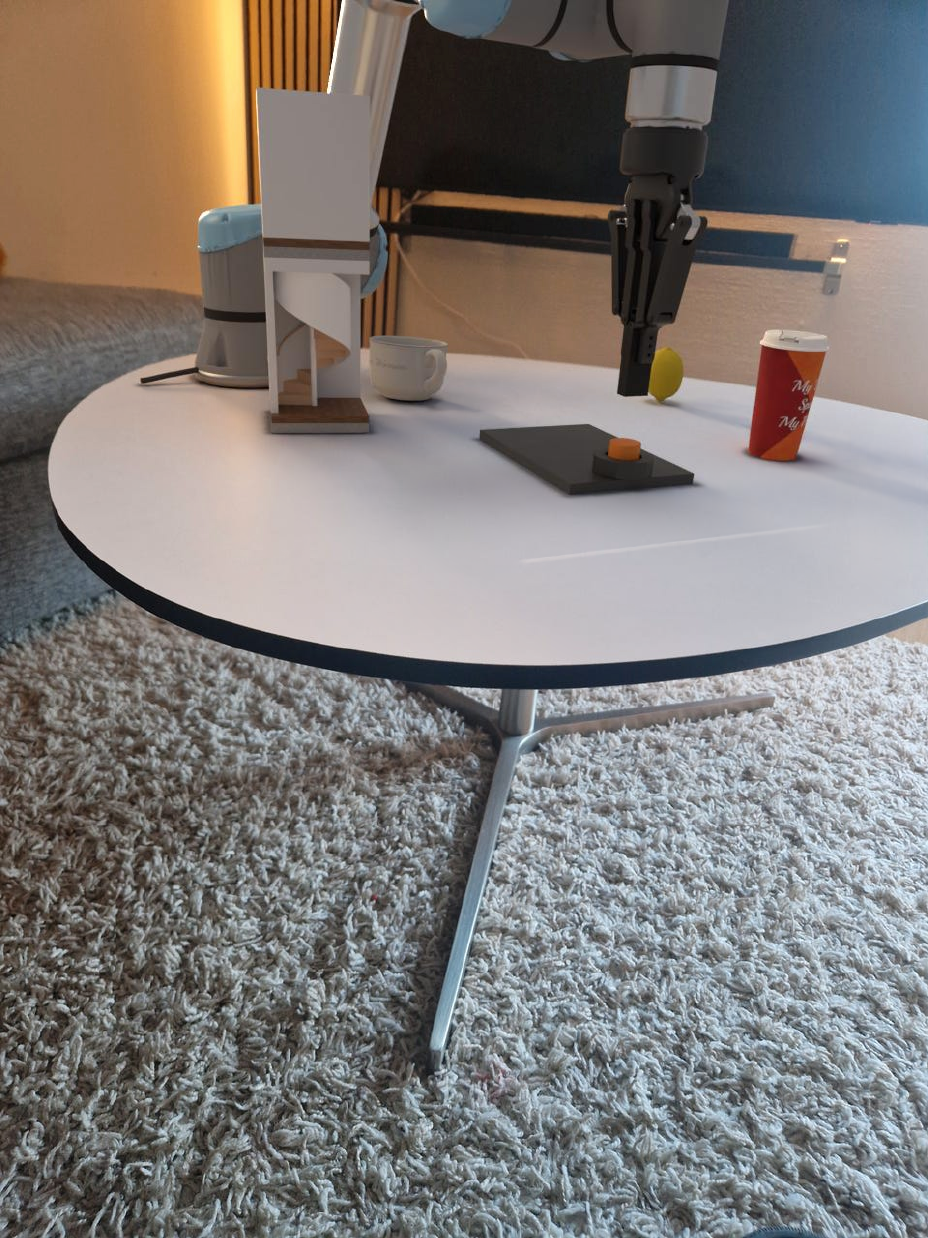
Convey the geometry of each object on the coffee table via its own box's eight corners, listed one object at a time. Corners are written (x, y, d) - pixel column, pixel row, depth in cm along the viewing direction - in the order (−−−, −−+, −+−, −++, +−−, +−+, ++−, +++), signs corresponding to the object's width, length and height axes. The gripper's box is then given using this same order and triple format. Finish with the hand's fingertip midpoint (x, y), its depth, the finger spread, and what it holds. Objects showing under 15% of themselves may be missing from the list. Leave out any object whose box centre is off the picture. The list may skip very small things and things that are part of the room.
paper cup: (796, 467, 103) (824, 341, 97) (731, 454, 107) (753, 332, 100) (812, 453, 109) (838, 334, 103) (749, 442, 113) (771, 326, 107)
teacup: (358, 390, 128) (358, 332, 125) (428, 387, 133) (429, 331, 129) (393, 413, 117) (394, 350, 114) (467, 409, 121) (471, 348, 118)
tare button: (618, 463, 91) (620, 446, 90) (601, 455, 93) (603, 438, 93) (644, 461, 92) (647, 444, 91) (627, 453, 95) (630, 436, 94)
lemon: (637, 403, 130) (644, 346, 127) (645, 396, 135) (652, 341, 132) (675, 408, 129) (684, 350, 125) (681, 401, 133) (690, 345, 130)
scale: (571, 497, 89) (575, 467, 87) (479, 439, 107) (480, 414, 106) (696, 486, 94) (700, 458, 93) (587, 432, 113) (590, 409, 111)
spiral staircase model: (271, 432, 105) (256, 87, 90) (270, 411, 114) (256, 95, 99) (368, 432, 107) (370, 95, 92) (359, 411, 117) (359, 102, 101)
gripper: (748, 127, 76) (702, 407, 86) (659, 132, 86) (628, 380, 97) (674, 121, 73) (636, 410, 83) (592, 126, 84) (567, 382, 94)
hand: (632, 394), depth 90 cm, fingers closed
